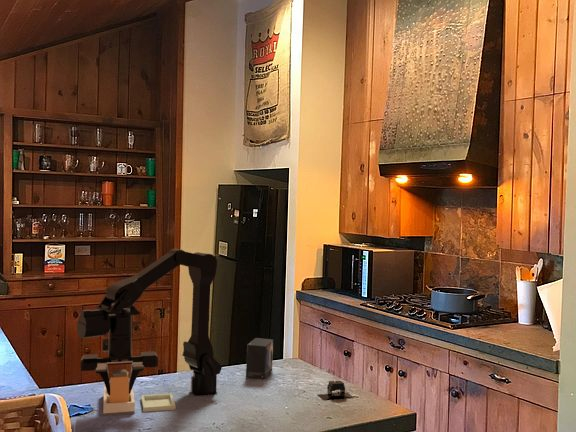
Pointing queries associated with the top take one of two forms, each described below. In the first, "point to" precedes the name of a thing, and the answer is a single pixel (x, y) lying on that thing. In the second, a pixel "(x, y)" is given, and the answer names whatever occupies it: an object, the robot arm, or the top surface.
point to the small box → (259, 358)
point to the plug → (119, 386)
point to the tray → (158, 402)
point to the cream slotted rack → (118, 405)
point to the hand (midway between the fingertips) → (119, 394)
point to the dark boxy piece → (336, 395)
